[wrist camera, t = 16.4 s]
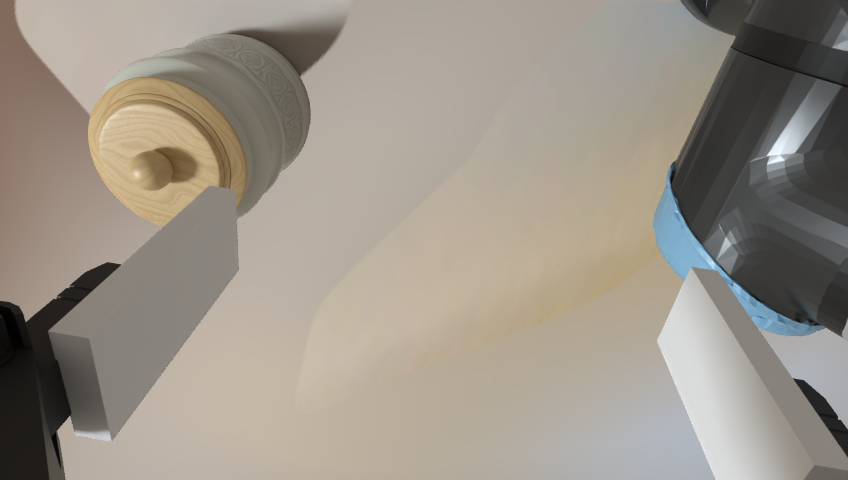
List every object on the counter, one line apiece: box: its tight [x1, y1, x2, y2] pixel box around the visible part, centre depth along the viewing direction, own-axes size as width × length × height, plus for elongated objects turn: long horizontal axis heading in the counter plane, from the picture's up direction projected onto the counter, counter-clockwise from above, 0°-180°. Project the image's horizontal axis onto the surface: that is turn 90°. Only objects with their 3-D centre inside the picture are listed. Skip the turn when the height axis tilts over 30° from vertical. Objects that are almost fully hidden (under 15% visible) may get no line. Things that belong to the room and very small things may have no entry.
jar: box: [88, 34, 310, 227], centre depth 43 cm, size 13×13×18 cm
